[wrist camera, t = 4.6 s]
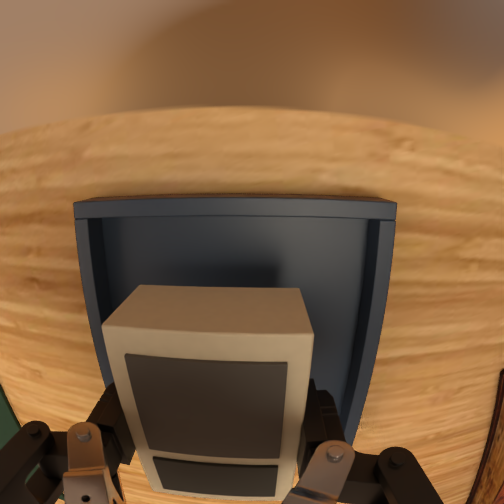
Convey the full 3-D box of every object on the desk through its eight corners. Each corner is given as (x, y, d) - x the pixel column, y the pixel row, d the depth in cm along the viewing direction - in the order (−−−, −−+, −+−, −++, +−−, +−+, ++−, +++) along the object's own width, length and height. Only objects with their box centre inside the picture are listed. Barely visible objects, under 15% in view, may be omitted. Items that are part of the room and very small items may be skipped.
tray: (93, 197, 15) (72, 202, 13) (380, 197, 15) (397, 202, 13) (133, 425, 19) (124, 445, 17) (343, 434, 19) (349, 455, 16)
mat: (-57, 350, 19) (-59, 352, 19) (-5, 372, 19) (-7, 374, 18) (11, 473, 24) (10, 475, 24) (67, 499, 24) (66, 501, 23)
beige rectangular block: (139, 283, 12) (97, 327, 8) (299, 287, 12) (315, 336, 8) (167, 440, 14) (151, 493, 11) (285, 446, 14) (289, 503, 10)
